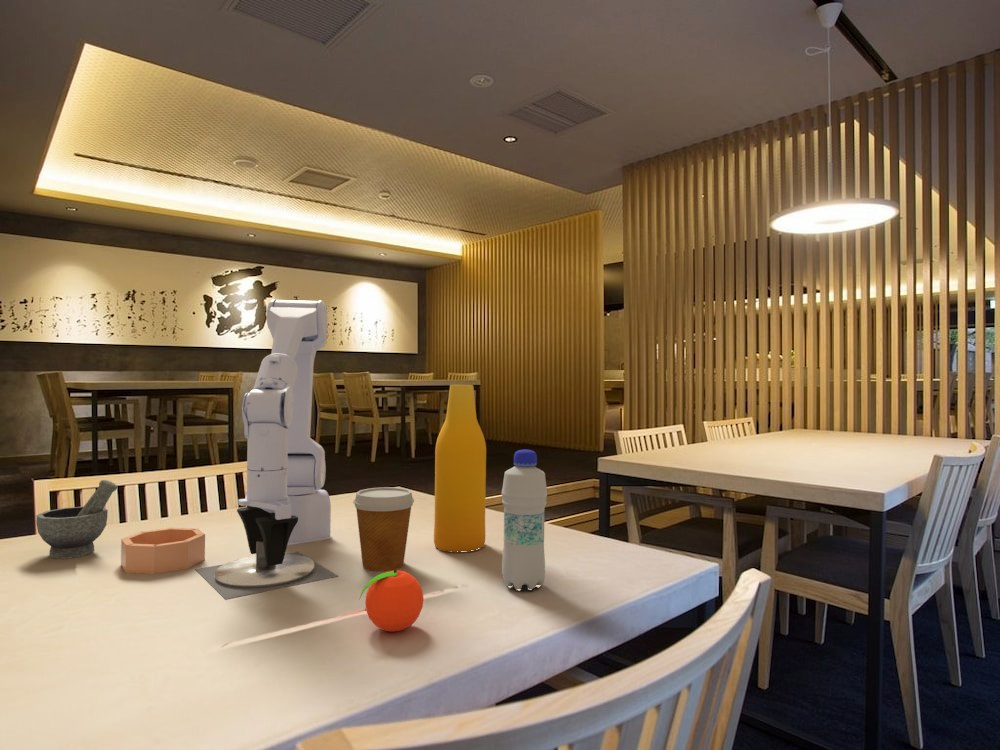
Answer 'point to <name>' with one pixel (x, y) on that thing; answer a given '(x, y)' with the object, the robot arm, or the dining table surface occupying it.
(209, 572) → the rubber mat
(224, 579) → the steel lid
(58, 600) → the dining table surface
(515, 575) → the bottle
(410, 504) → the disposable coffee cup
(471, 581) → the dining table surface
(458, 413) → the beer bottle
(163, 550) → the terracotta bowl
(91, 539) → the mortar and pestle
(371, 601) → the clementine
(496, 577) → the dining table surface
